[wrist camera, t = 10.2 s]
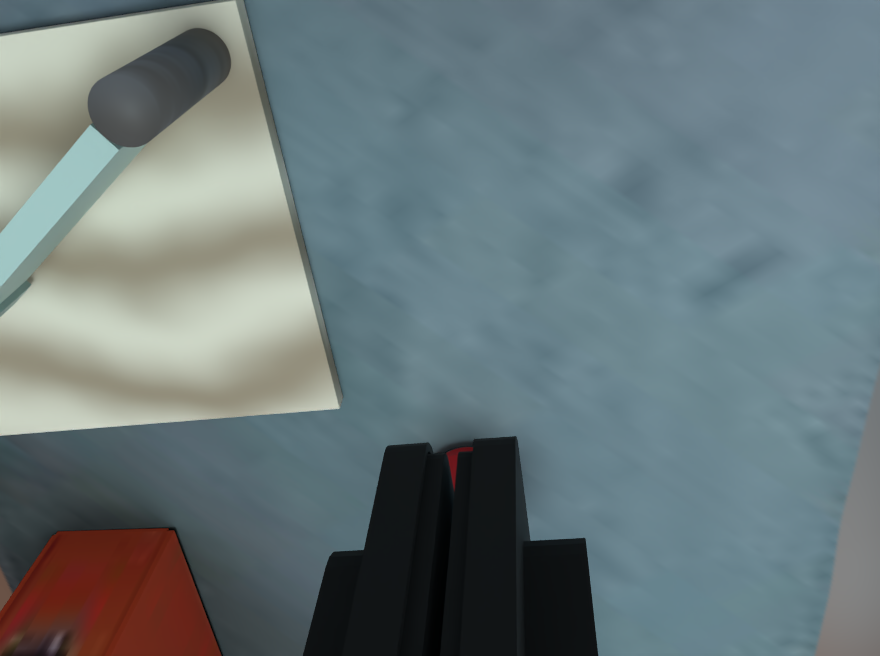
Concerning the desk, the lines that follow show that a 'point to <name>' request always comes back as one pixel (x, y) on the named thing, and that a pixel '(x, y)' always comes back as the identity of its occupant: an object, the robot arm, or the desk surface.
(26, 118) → the gate base
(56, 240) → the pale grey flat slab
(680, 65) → the desk surface
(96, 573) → the file binder
